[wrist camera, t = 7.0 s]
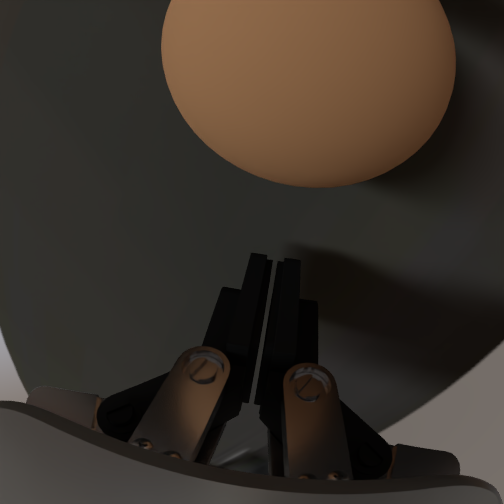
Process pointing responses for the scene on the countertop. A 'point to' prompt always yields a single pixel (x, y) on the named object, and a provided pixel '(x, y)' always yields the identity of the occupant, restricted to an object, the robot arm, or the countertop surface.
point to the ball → (310, 83)
